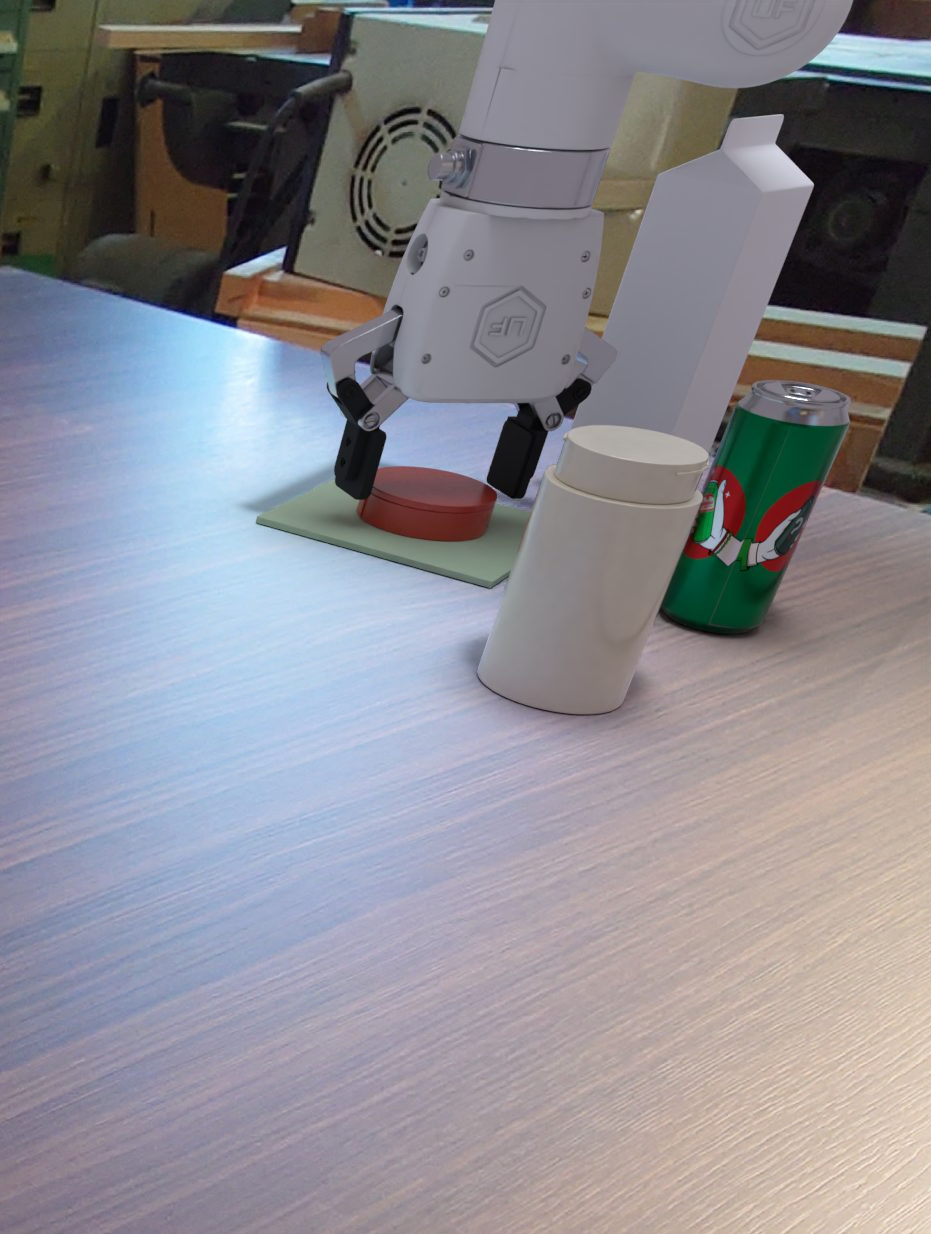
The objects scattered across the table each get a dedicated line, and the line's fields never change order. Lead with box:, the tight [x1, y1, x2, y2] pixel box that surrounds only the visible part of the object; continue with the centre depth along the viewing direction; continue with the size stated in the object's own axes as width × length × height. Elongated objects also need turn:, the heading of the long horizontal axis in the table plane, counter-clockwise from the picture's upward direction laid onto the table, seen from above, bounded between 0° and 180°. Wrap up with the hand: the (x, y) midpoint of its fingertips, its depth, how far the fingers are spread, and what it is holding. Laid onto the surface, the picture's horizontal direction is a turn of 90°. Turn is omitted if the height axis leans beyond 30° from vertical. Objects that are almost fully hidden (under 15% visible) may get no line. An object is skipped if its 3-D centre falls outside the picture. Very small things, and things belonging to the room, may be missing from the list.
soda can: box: [661, 379, 852, 635], centre depth 87 cm, size 5×5×12 cm
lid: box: [356, 465, 498, 541], centre depth 100 cm, size 7×7×2 cm
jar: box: [476, 425, 710, 715], centre depth 79 cm, size 7×7×12 cm
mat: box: [255, 478, 531, 589], centre depth 101 cm, size 14×14×1 cm
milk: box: [569, 113, 815, 455], centre depth 100 cm, size 6×6×22 cm
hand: (427, 492), depth 100 cm, fingers open, 9 cm apart
